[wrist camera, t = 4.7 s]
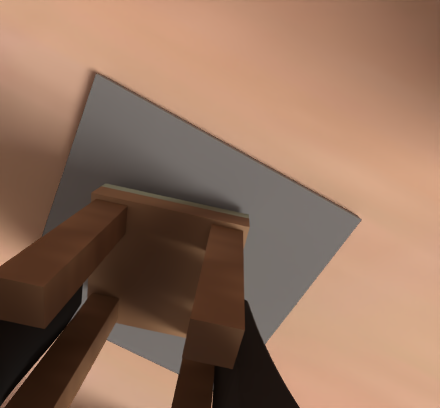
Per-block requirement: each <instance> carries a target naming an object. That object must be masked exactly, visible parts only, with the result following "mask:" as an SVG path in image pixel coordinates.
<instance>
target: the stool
mask: <svg viewBox="0 0 440 408" xmlns="http://www.w3.org/2000/svg"><path fill="white" fill-rule="evenodd" d="M249 228H250V224H249V214H244V213H239V212H235V211H230V210H226V209H221V208H216V207H212V206H207V205H203V204H198V203H194V202H189V201H184V200H180V199H175V198H171V197H166V196H161V195H157V194H152V193H148V192H143V191H139V190H134V189H129V188H125V187H120V186H116V185H111V184H104V185H102V186H101V187H99V188H98V189H96V190H95V191H93V192H92V193H91V203H90V204H88V205H87V206H85V207H84V208H83V209H81V210H80V211H78V212H77V213H75V214H74V215H73V216H71V217H70V218H68V219H67V220H65V221H64V222H63V223H61V224H60V225H58V226H57V227H55V228H54V229H53V230H51V231H50V232H48V233H47V234H45V235H44V236H43V237H41V238H40V239H38V240H37V241H36V242H34V243H33V244H31V245H30V246H28V247H27V248H26V249H24V250H23V251H21V252H20V253H18V254H17V255H16V256H14V257H13V258H11V259H10V260H8V261H7V262H6V263H4V264H3V265H1V266H0V320H4V321H9V322H14V323H19V324H23V325H28V326H33V327H37V328H42V329H45V328H46V327H47V326H48V325H49V323H50V322H51V321H52V320H53V319H54V317H55V316H56V315H57V314H58V313H59V312H60V310H61V309H62V308H63V307H64V306H65V304H66V303H67V302H68V301H69V300H70V299H71V297H72V296H73V295H74V294H75V293H76V291H77V290H78V289H79V288H80V287H81V286H82V284H83V283H84V282H85V281H86V280H87V278H88V290H87V300H86V301H85V303H84V304H83V305H82V307H81V308H80V309H79V311H78V312H77V313H76V314H75V316H74V317H73V318H72V320H71V321H70V322H69V324H68V325H67V326H66V328H65V329H64V330H63V332H62V333H61V334H60V335H59V337H58V338H57V339H56V341H55V342H54V343H53V345H52V346H51V347H50V349H49V350H48V351H47V353H46V354H45V355H44V357H43V358H42V359H41V360H40V362H39V363H38V364H37V366H36V367H35V368H34V370H33V371H32V372H31V374H30V375H29V376H28V378H27V379H26V380H25V381H24V383H23V384H22V385H21V387H20V388H19V389H18V391H17V392H16V393H15V395H14V396H13V397H12V399H11V400H10V401H9V402H8V404H7V405H6V406H5V408H69V406H70V405H71V403H72V401H73V399H74V397H75V396H76V394H77V392H78V390H79V388H80V387H81V385H82V383H83V381H84V379H85V378H86V376H87V374H88V372H89V370H90V369H91V367H92V365H93V363H94V361H95V360H96V358H97V356H98V354H99V352H100V351H101V349H102V347H103V345H104V343H105V342H106V340H107V338H108V336H109V334H110V333H111V331H112V329H113V327H114V325H115V323H118V324H123V325H127V326H132V327H137V328H141V329H146V330H151V331H155V332H160V333H165V334H169V335H174V336H179V337H183V338H186V340H185V345H184V349H183V354H182V362H181V367H180V371H179V376H178V380H177V385H176V389H175V394H174V398H173V403H172V407H171V408H211V404H212V393H213V383H214V367H215V366H220V367H225V368H229V369H233V366H234V363H235V360H236V357H237V354H238V351H239V347H240V344H241V341H242V338H243V335H244V331H245V309H244V246H245V243H246V239H247V235H248V232H249Z"/></svg>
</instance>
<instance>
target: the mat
mask: <svg viewBox="0 0 440 408" xmlns="http://www.w3.org/2000/svg"><path fill="white" fill-rule="evenodd" d="M104 184H111V185H116V186H120V187H125V188H129V189H134V190H139V191H143V192H148V193H152V194H157V195H161V196H166V197H171V198H175V199H180V200H184V201H189V202H194V203H198V204H203V205H207V206H212V207H216V208H221V209H226V210H230V211H235V212H239V213H244V214H249V224H250V228H249V232H248V235H247V239H246V243H245V246H244V300H247V301H248V303H249V306H250V309H251V312H252V314H253V317H254V320H255V322H256V325H257V327H258V330H259V332H260V335H261V337H262V339H263V341H264V344H266V342H267V341H268V340H269V338H270V337H271V336H272V335H273V333H274V332H275V331H276V329H277V328H278V327H279V326H280V324H281V323H282V322H283V320H284V319H285V318H286V317H287V315H288V314H289V313H290V311H291V310H292V309H293V308H294V306H295V305H296V304H297V302H298V301H299V300H300V299H301V297H302V296H303V295H304V293H305V292H306V291H307V290H308V288H309V287H310V286H311V284H312V283H313V282H314V281H315V279H316V278H317V277H318V275H319V274H320V273H321V272H322V270H323V269H324V268H325V266H326V265H327V264H328V263H329V261H330V260H331V259H332V257H333V256H334V255H335V254H336V252H337V251H338V250H339V248H340V247H341V246H342V245H343V243H344V242H345V241H346V239H347V238H348V237H349V236H350V234H351V233H352V232H353V230H354V229H355V228H356V227H357V225H358V224H359V223H360V221H361V219H360V218H359V217H358V216H357V215H355V214H353V213H352V212H350V211H348V210H346V209H344V208H343V207H341V206H339V205H337V204H335V203H334V202H332V201H330V200H328V199H326V198H324V197H323V196H321V195H319V194H317V193H315V192H314V191H312V190H310V189H308V188H306V187H305V186H303V185H301V184H299V183H297V182H295V181H294V180H292V179H290V178H288V177H286V176H285V175H283V174H281V173H279V172H277V171H276V170H274V169H272V168H270V167H268V166H266V165H265V164H263V163H261V162H259V161H257V160H256V159H254V158H252V157H250V156H248V155H247V154H245V153H243V152H241V151H239V150H237V149H236V148H234V147H232V146H230V145H228V144H227V143H225V142H223V141H221V140H219V139H218V138H216V137H214V136H212V135H210V134H208V133H207V132H205V131H203V130H201V129H199V128H198V127H196V126H194V125H192V124H190V123H189V122H187V121H185V120H183V119H181V118H179V117H178V116H176V115H174V114H172V113H170V112H169V111H167V110H165V109H163V108H161V107H160V106H158V105H156V104H154V103H152V102H150V101H149V100H147V99H145V98H143V97H141V96H140V95H138V94H136V93H134V92H132V91H131V90H129V89H127V88H125V87H123V86H121V85H120V84H118V83H116V82H114V81H112V80H111V79H109V78H107V77H105V76H103V75H100V74H96V76H95V79H94V82H93V85H92V88H91V91H90V94H89V97H88V100H87V103H86V106H85V109H84V112H83V115H82V118H81V121H80V124H79V127H78V130H77V133H76V136H75V139H74V142H73V145H72V148H71V151H70V154H69V157H68V160H67V163H66V166H65V169H64V172H63V175H62V178H61V181H60V184H59V187H58V190H57V193H56V195H55V198H54V201H53V204H52V207H51V210H50V213H49V216H48V219H47V222H46V225H45V228H44V231H43V234H42V237H43V236H44V235H45V234H47V233H48V232H50V231H51V230H53V229H54V228H55V227H57V226H58V225H60V224H61V223H63V222H64V221H65V220H67V219H68V218H70V217H71V216H73V215H74V214H75V213H77V212H78V211H80V210H81V209H83V208H84V207H85V206H87V205H88V204H90V203H91V193H92V192H93V191H95V190H96V189H98V188H99V187H101V186H102V185H104ZM87 290H88V278H87V280H86V281H85V282H84V283H83V290H82V303H81V305H80V307H79V308H78V310H77V311H76V313H77V312H78V311H79V309H80V308H81V307H82V305H83V304H84V303H85V301H86V300H87ZM76 313H75V314H76ZM75 314H74V316H75ZM74 316H73V317H74ZM73 317H72V318H73ZM71 320H72V319H71ZM71 320H70V321H71ZM107 340H108V341H110V342H112V343H114V344H116V345H118V346H120V347H122V348H125V349H127V350H129V351H131V352H133V353H135V354H137V355H139V356H141V357H143V358H145V359H148V360H150V361H152V362H154V363H156V364H158V365H160V366H162V367H164V368H166V369H168V370H171V371H173V372H175V373H177V374H179V371H180V367H181V362H182V354H183V349H184V345H185V340H186V338H183V337H179V336H174V335H169V334H165V333H160V332H155V331H151V330H146V329H141V328H137V327H132V326H127V325H123V324H118V323H115V325H114V327H113V329H112V331H111V333H110V334H109V336H108V338H107ZM213 384H214V383H213Z"/></svg>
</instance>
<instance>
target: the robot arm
mask: <svg viewBox="0 0 440 408" xmlns="http://www.w3.org/2000/svg"><path fill="white" fill-rule="evenodd" d="M82 290H83V284H82V286H81V287H80V288H79V289H78V290H77V291H76V293H75V294H74V295H73V296H72V297H71V299H70V300H69V301H68V302H67V303H66V304H65V306H64V307H63V308H62V309H61V310H60V312H59V313H58V314H57V315H56V316H55V317H54V319H53V320H52V321H51V322H50V323H49V325H48V326H47V327H46V328H45V329H42V328H37V327H33V326H28V325H23V324H19V323H14V322H9V321H4V320H0V406H1V405H2V403H3V402H4V401H5V399H6V398H7V397H8V395H9V394H10V393H11V392H12V390H13V389H14V388H15V387H16V385H17V384H18V383H19V382H20V381H21V380H22V378H23V377H24V376H25V375H26V374H27V373H28V371H29V370H30V369H31V368H32V367H33V365H34V364H35V363H36V362H37V361H38V360H39V358H40V357H41V356H42V355H43V354H44V353H45V351H46V350H47V349H48V348H49V347H50V346H51V344H52V343H53V342H54V341H55V340H56V338H57V337H58V336H59V335H60V334H61V332H62V331H63V330H64V329H65V328H66V326H67V325H68V323H69V322H70V320H71V319H72V317H73V316H74V314H75V313H76V311H77V310H78V308H79V307H80V305H81V303H82ZM244 309H245V331H244V335H243V338H242V341H241V344H240V347H239V351H238V354H237V357H236V360H235V363H234V366H233V369H229V368H225V367H220V366H215V367H214V384H213V402H212V408H300V407H299V406H298V404H297V403H296V401H295V400H294V398H293V396H292V395H291V393H290V391H289V390H288V388H287V386H286V385H285V383H284V381H283V379H282V378H281V376H280V374H279V372H278V370H277V368H276V366H275V364H274V363H273V361H272V359H271V357H270V354H269V352H268V350H267V348H266V346H265V344H264V341H263V339H262V337H261V335H260V332H259V330H258V327H257V325H256V322H255V320H254V317H253V314H252V312H251V309H250V306H249V303H248V301H247V300H244Z"/></svg>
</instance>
